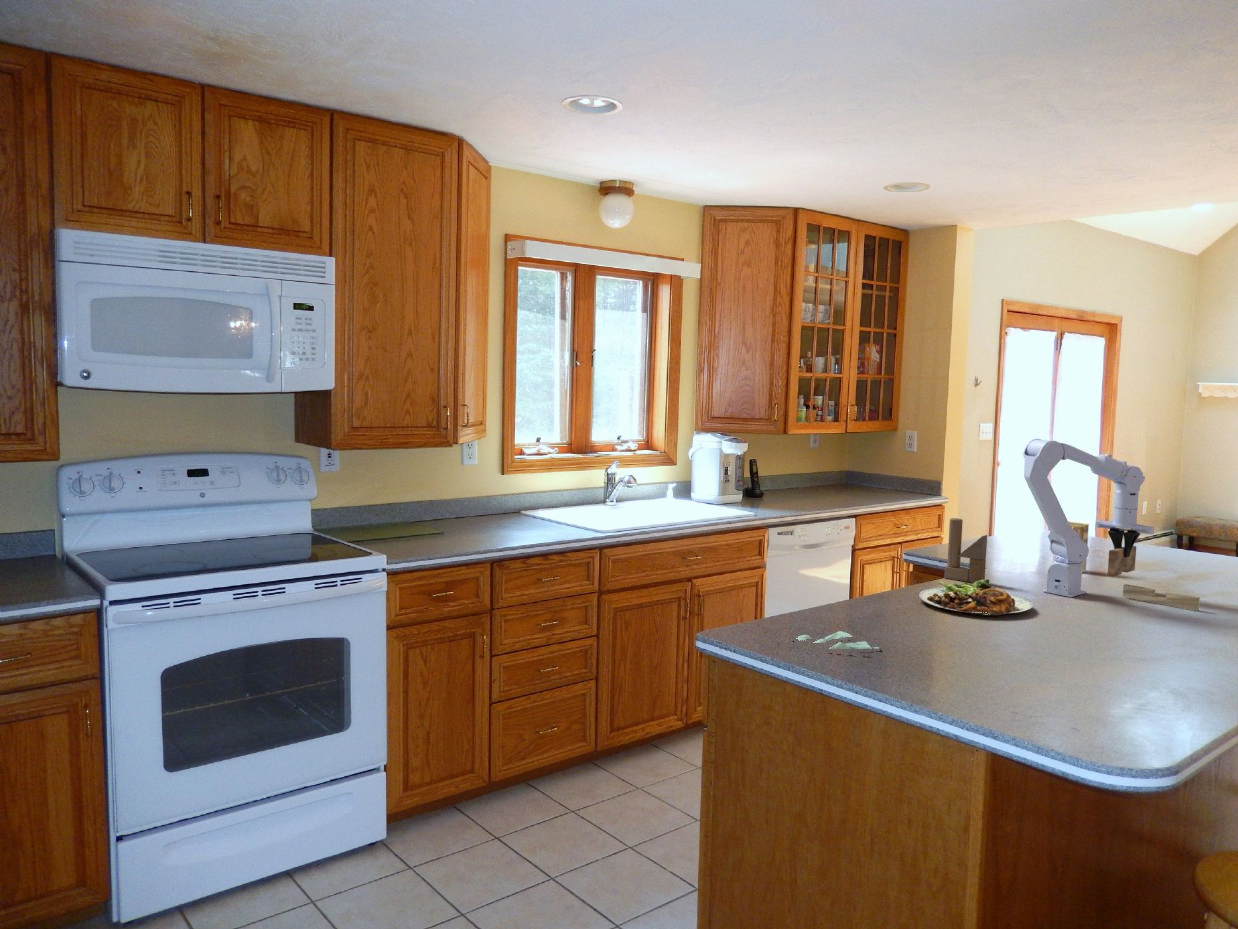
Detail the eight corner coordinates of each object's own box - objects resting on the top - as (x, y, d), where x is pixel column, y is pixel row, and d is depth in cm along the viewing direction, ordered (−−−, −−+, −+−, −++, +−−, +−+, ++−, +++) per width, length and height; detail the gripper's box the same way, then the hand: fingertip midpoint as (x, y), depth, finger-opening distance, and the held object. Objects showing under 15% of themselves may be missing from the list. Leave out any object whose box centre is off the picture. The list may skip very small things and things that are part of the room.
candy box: (1086, 571, 278) (1089, 523, 276) (1081, 573, 275) (1084, 524, 273) (1056, 567, 284) (1059, 520, 283) (1051, 569, 281) (1054, 521, 280)
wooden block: (980, 584, 257) (983, 523, 255) (943, 578, 264) (947, 518, 263) (985, 582, 260) (988, 521, 258) (949, 576, 267) (952, 517, 265)
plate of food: (957, 589, 251) (958, 568, 251) (1054, 609, 229) (1055, 586, 228) (896, 605, 235) (896, 583, 234) (994, 629, 213) (994, 604, 212)
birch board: (1196, 611, 230) (1197, 598, 230) (1122, 597, 244) (1123, 584, 244) (1198, 610, 231) (1199, 597, 231) (1125, 596, 245) (1126, 584, 245)
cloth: (776, 639, 199) (776, 629, 199) (858, 632, 207) (858, 621, 207) (828, 667, 180) (828, 655, 180) (916, 657, 188) (916, 646, 188)
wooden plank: (1113, 576, 244) (1115, 551, 243) (1107, 575, 245) (1109, 550, 245) (1134, 570, 253) (1136, 546, 252) (1128, 569, 254) (1130, 545, 253)
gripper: (1160, 510, 244) (1156, 558, 245) (1104, 504, 256) (1101, 550, 257) (1149, 512, 240) (1146, 561, 241) (1093, 505, 251) (1090, 553, 252)
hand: (1122, 556), depth 249 cm, fingers closed on wooden plank, 2 cm apart
